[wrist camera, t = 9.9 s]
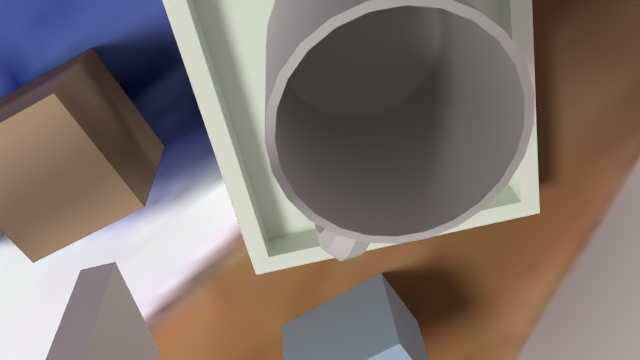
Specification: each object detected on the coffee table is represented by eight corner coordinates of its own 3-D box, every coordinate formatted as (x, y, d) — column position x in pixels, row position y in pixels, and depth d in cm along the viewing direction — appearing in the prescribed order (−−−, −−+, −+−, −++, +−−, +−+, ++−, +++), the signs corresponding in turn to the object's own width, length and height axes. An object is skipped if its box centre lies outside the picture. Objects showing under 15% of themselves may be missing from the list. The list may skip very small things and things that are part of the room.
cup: (474, -37, 23) (580, 28, 15) (397, 189, 27) (448, 327, 20) (286, -82, 21) (296, -37, 14) (239, 162, 26) (226, 299, 18)
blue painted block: (282, 324, 32) (284, 401, 27) (380, 271, 31) (399, 343, 26) (322, 368, 34) (330, 446, 29) (417, 320, 32) (439, 394, 28)
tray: (138, -110, 21) (126, -106, 20) (503, -200, 21) (525, -204, 19) (256, 248, 29) (256, 274, 27) (523, 190, 29) (539, 213, 27)
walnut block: (-9, 103, 25) (-67, 160, 20) (92, 46, 24) (53, 93, 20) (70, 194, 27) (33, 263, 23) (164, 145, 26) (144, 207, 22)
